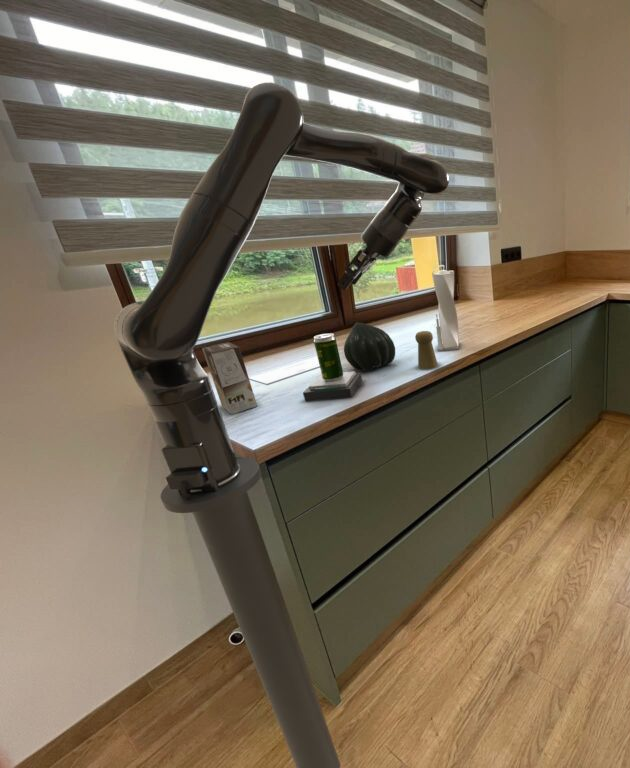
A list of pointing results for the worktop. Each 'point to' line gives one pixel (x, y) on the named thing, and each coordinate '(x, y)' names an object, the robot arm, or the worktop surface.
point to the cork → (425, 350)
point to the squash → (368, 347)
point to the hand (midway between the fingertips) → (345, 284)
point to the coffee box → (230, 377)
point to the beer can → (328, 357)
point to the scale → (333, 387)
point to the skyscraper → (446, 310)
